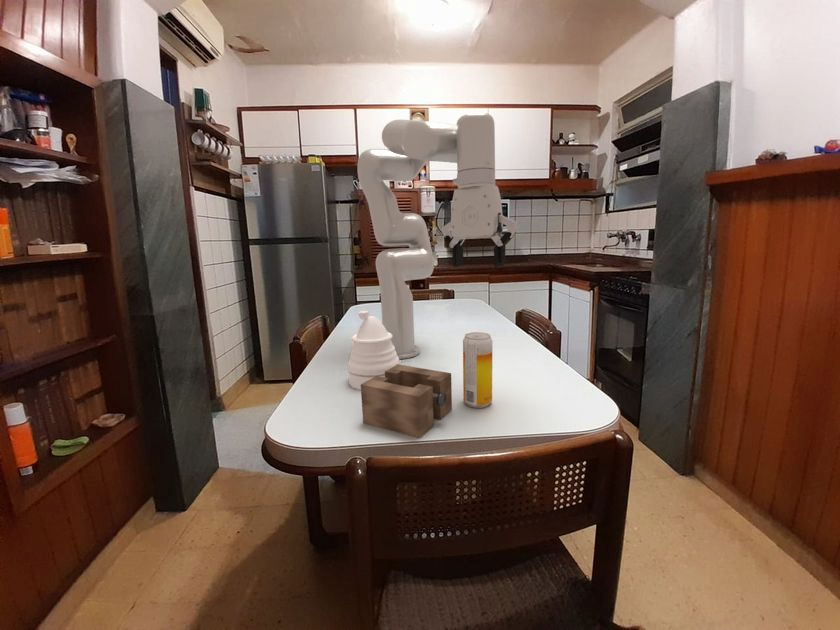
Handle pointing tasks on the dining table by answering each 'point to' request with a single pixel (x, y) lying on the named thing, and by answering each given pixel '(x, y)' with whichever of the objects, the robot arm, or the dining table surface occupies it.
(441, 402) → the plunger
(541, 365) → the dining table surface
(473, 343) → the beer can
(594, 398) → the dining table surface
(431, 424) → the brown wooden clamp block
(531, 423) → the dining table surface
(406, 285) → the robot arm
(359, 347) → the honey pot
